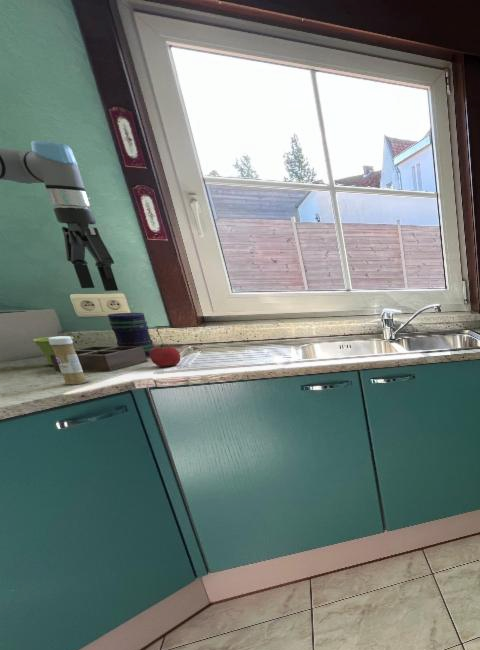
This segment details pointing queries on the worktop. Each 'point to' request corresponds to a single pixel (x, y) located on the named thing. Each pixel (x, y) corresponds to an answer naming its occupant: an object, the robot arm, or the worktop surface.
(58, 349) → the sprinkles bottle
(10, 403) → the worktop surface
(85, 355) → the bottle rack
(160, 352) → the tomato
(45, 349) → the plant pot
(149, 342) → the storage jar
